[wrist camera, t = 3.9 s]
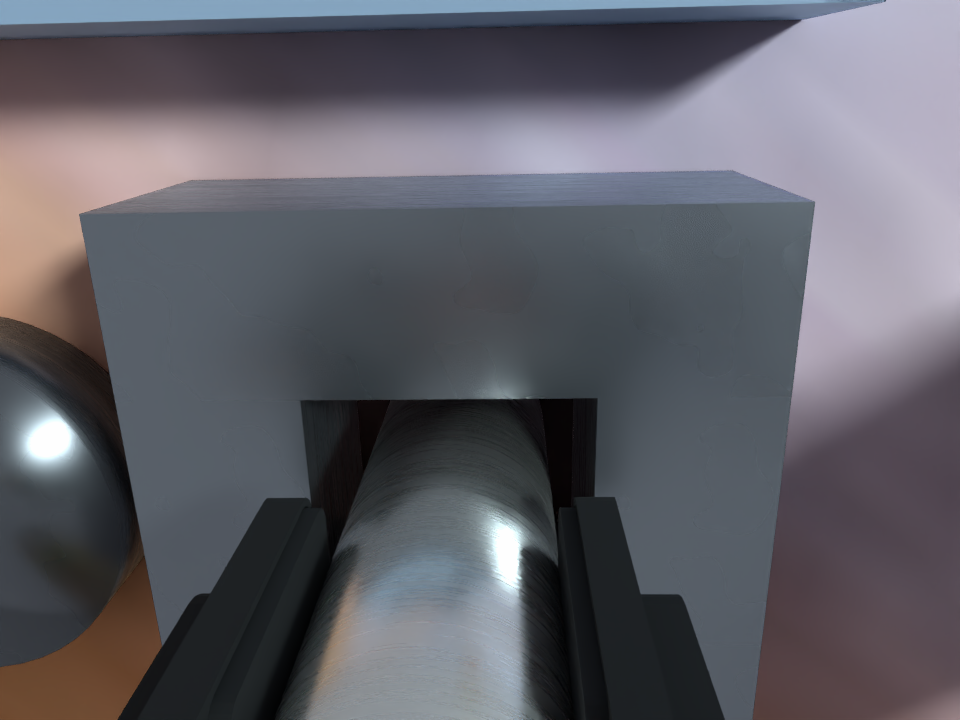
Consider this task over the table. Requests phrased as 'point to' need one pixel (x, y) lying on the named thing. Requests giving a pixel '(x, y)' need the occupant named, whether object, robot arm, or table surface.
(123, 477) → the dark knobbed lid
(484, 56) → the table surface
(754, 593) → the block
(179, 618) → the robot arm
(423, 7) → the tray
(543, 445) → the lock pin
